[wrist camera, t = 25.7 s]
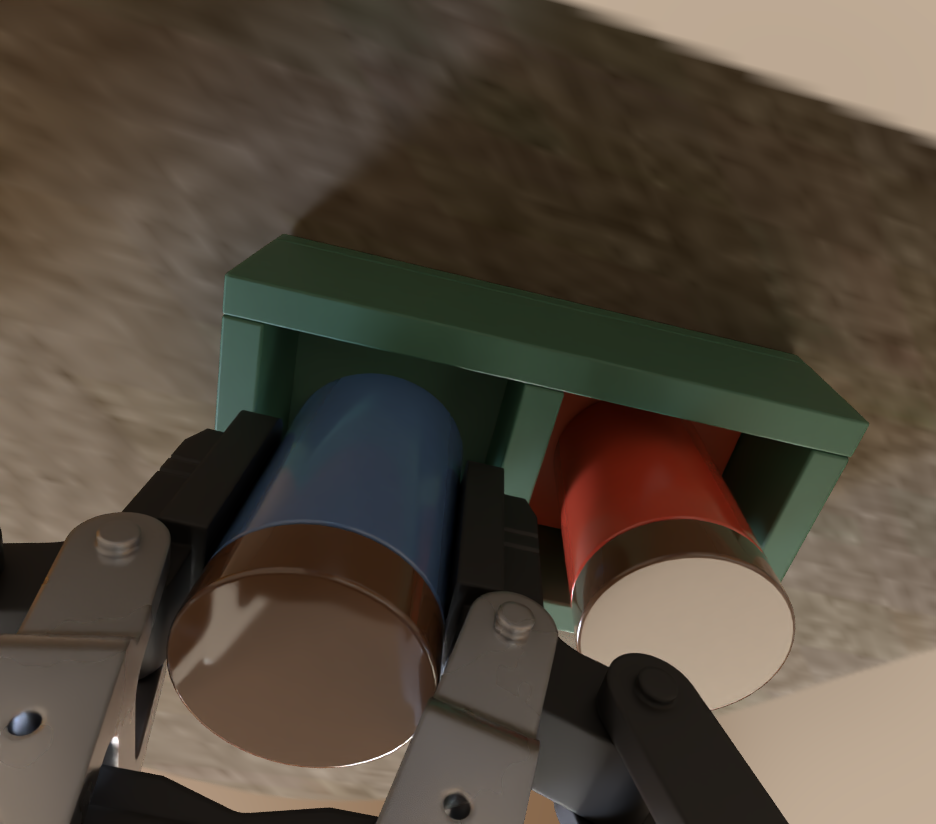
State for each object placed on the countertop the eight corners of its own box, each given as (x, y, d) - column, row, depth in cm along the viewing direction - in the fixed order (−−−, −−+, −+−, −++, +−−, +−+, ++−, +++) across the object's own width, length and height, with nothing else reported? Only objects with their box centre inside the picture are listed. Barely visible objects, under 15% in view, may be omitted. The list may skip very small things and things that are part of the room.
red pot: (577, 378, 16) (615, 532, 10) (724, 412, 16) (836, 581, 11) (536, 503, 17) (550, 693, 12) (670, 533, 18) (743, 733, 12)
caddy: (282, 232, 15) (224, 272, 12) (797, 354, 16) (871, 423, 13) (257, 473, 18) (204, 557, 15) (695, 568, 19) (735, 668, 16)
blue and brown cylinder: (302, 353, 13) (166, 542, 8) (481, 394, 14) (466, 604, 8) (283, 502, 15) (160, 743, 10) (444, 536, 15) (410, 790, 10)
